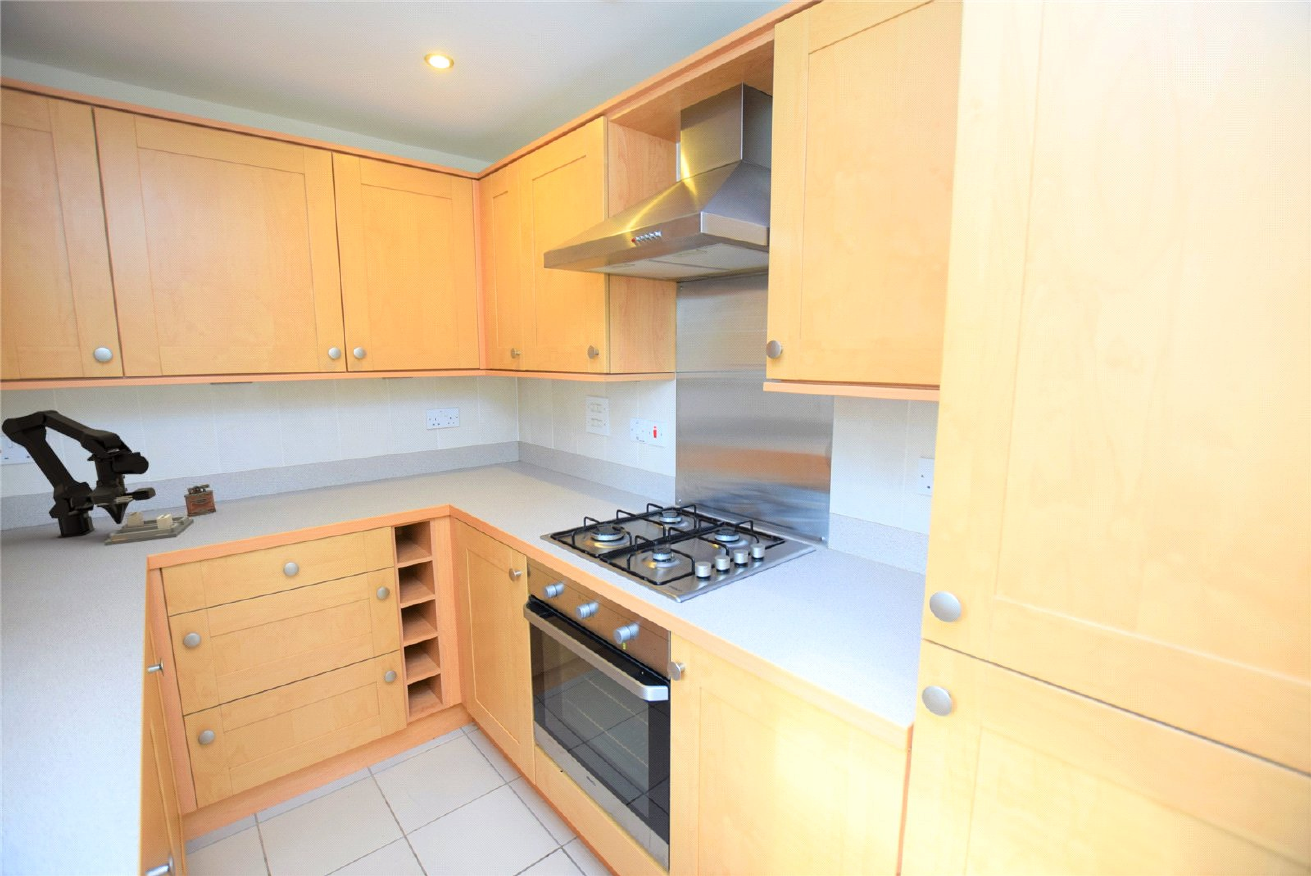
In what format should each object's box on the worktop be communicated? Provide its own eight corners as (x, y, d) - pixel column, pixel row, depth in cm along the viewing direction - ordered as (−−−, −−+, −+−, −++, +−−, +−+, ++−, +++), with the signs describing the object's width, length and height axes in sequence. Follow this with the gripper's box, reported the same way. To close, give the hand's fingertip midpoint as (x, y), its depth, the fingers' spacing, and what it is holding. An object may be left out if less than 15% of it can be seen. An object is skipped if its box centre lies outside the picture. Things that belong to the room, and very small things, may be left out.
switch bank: (104, 545, 171) (103, 537, 171) (128, 529, 186) (127, 521, 185) (176, 536, 178) (175, 528, 177) (194, 521, 192) (192, 514, 192)
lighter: (189, 517, 197) (184, 488, 195) (186, 515, 199) (181, 487, 197) (217, 511, 203) (213, 483, 202) (214, 510, 205) (209, 482, 204)
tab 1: (128, 530, 181) (125, 515, 180) (134, 526, 185) (131, 512, 184) (138, 529, 182) (136, 514, 181) (144, 525, 186) (141, 510, 185)
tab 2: (158, 533, 177) (156, 518, 177) (163, 529, 181) (161, 514, 180) (169, 532, 178) (166, 517, 178) (173, 528, 182) (171, 513, 181)
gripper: (55, 484, 168) (66, 536, 171) (137, 476, 175) (146, 527, 178) (75, 475, 178) (85, 525, 181) (152, 469, 185) (160, 517, 188)
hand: (119, 523), depth 181 cm, fingers closed
